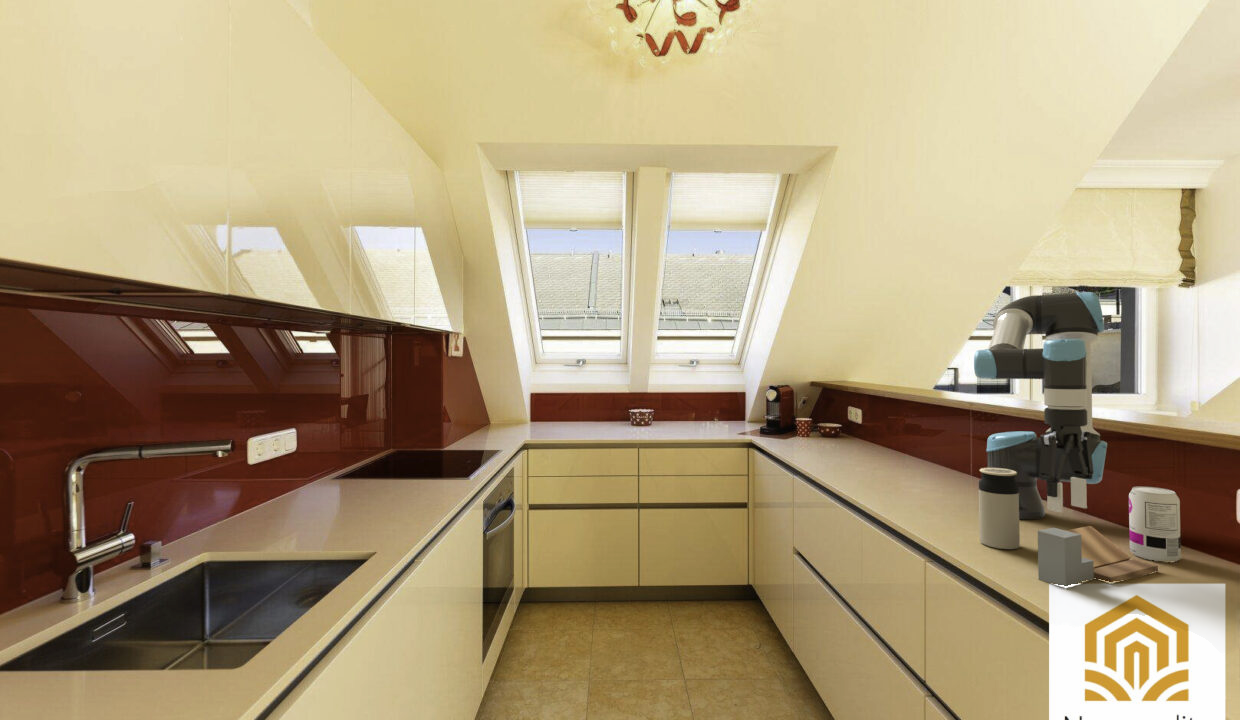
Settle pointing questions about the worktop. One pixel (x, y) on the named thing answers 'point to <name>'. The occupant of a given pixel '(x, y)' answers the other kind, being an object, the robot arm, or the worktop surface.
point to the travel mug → (999, 508)
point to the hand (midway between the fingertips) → (1067, 508)
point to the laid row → (1124, 570)
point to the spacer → (1062, 558)
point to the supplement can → (1154, 524)
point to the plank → (1099, 548)
